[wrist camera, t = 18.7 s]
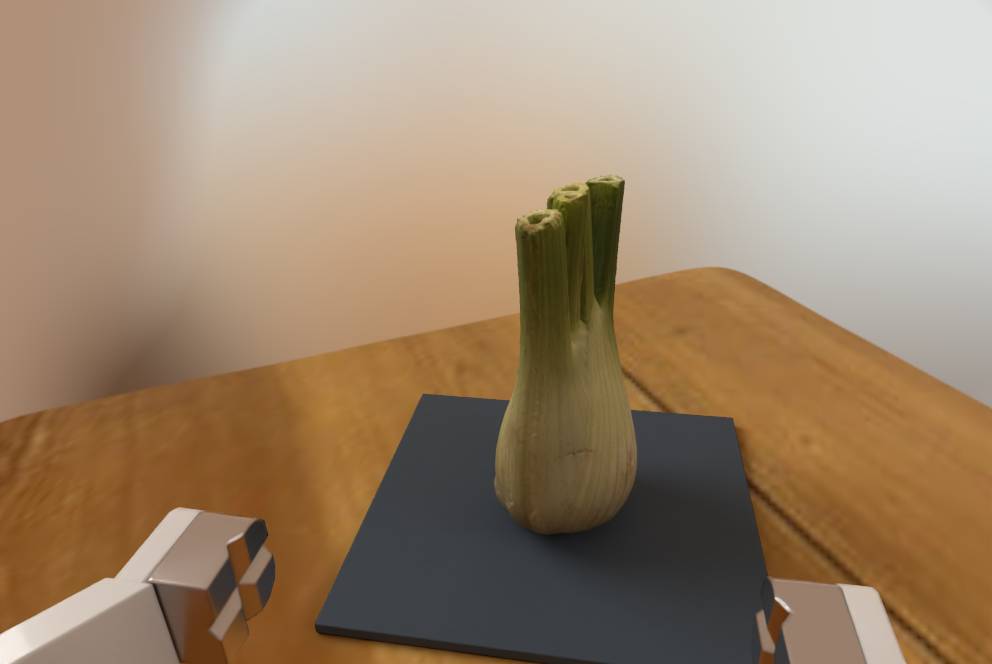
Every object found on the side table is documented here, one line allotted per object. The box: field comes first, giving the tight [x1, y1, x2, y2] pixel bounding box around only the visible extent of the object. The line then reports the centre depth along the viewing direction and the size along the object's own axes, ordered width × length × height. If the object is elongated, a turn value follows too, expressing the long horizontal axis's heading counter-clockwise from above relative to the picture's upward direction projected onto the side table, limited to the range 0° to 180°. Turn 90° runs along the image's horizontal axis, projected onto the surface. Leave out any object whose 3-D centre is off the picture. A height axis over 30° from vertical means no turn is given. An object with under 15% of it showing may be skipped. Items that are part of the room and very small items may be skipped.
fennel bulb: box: [494, 175, 637, 535], centre depth 23 cm, size 6×5×12 cm
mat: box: [315, 394, 768, 664], centre depth 26 cm, size 14×13×1 cm
